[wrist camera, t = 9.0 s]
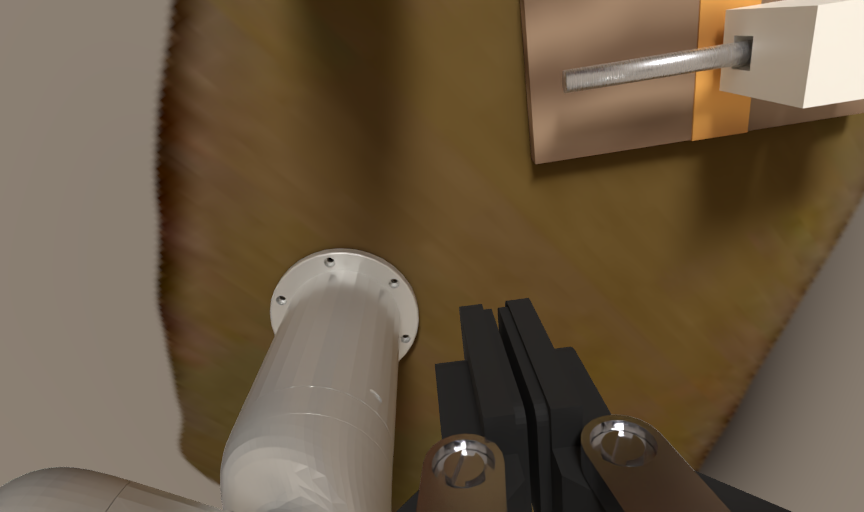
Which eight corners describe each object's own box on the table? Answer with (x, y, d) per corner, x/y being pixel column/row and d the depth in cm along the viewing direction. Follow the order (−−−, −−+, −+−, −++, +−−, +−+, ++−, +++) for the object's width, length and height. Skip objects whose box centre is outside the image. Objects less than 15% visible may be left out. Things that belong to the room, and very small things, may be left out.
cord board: (848, 110, 38) (866, 113, 37) (531, 160, 39) (535, 165, 38) (883, -79, 33) (905, -83, 32) (518, -16, 34) (523, -18, 32)
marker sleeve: (793, 78, 34) (898, 93, 27) (719, 90, 35) (802, 108, 27) (805, -4, 32) (921, -12, 25) (725, 9, 32) (818, 5, 25)
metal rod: (821, 50, 32) (837, 51, 31) (562, 92, 33) (568, 94, 32) (824, 26, 32) (841, 26, 30) (561, 69, 32) (567, 71, 31)
